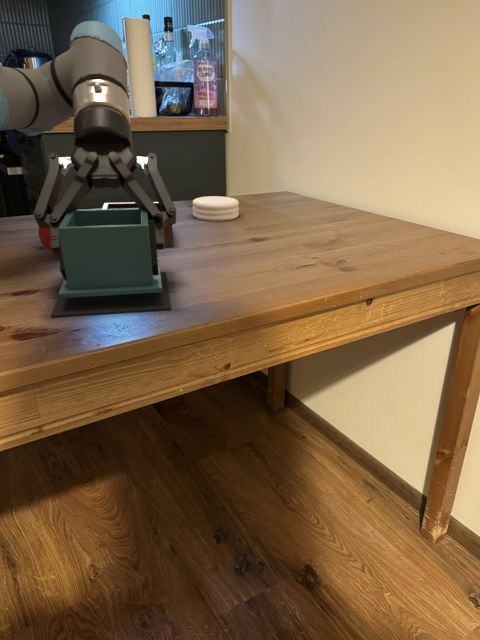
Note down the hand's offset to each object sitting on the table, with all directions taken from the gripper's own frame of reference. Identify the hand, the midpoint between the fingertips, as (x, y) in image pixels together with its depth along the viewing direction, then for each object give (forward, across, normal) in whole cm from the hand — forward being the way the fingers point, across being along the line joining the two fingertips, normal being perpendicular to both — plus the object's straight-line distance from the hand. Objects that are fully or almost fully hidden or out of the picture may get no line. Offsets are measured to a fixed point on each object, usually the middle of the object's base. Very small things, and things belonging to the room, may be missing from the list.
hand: (111, 272), depth 62 cm
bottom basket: (-18, +3, +24) cm, 30 cm away
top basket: (-1, 0, +3) cm, 4 cm away
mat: (+1, 0, +5) cm, 5 cm away
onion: (-12, -9, +18) cm, 23 cm away
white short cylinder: (-31, +19, +36) cm, 51 cm away
